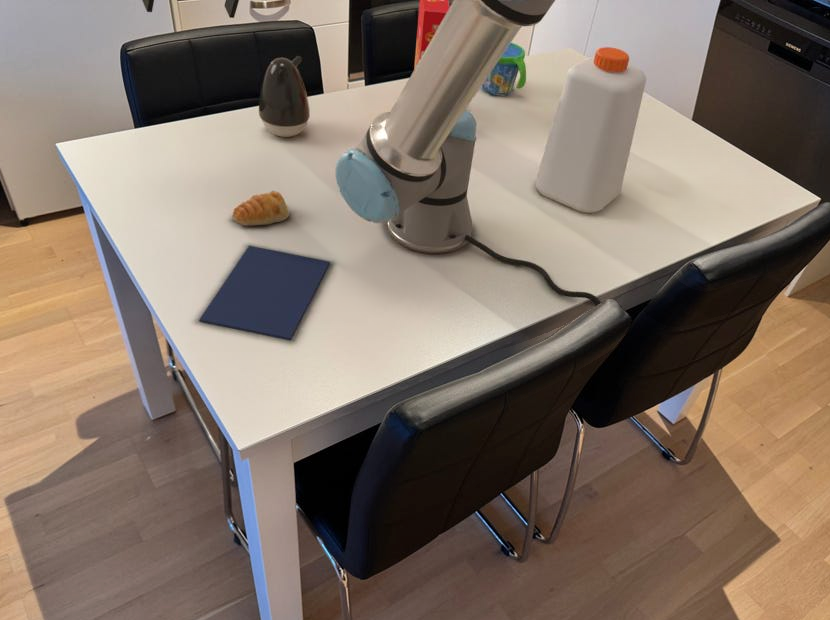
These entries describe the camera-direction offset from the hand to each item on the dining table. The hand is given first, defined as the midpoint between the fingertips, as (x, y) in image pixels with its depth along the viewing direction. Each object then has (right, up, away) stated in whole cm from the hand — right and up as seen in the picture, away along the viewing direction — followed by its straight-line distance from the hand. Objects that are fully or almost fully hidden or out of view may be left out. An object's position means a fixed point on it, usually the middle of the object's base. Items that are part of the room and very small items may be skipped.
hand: (189, 9), depth 121 cm
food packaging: (+37, -2, +46) cm, 59 cm away
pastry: (+10, -32, +10) cm, 35 cm away
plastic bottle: (+69, -23, +29) cm, 78 cm away
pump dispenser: (+8, -10, +34) cm, 36 cm away
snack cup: (+54, +9, +61) cm, 82 cm away
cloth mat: (+14, -47, -5) cm, 49 cm away
